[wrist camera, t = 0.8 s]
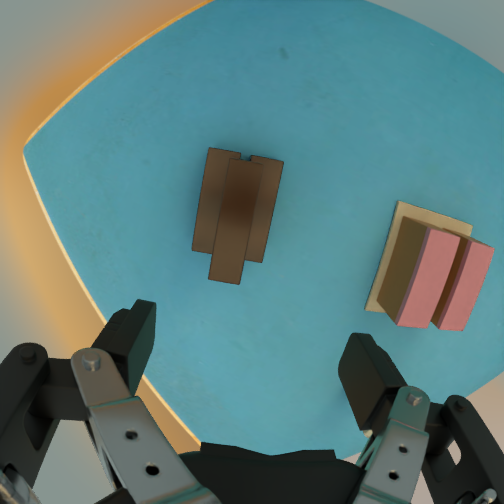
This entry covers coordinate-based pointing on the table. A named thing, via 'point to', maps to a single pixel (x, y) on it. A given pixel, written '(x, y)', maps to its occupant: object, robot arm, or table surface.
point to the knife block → (213, 197)
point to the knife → (235, 220)
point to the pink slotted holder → (429, 270)
